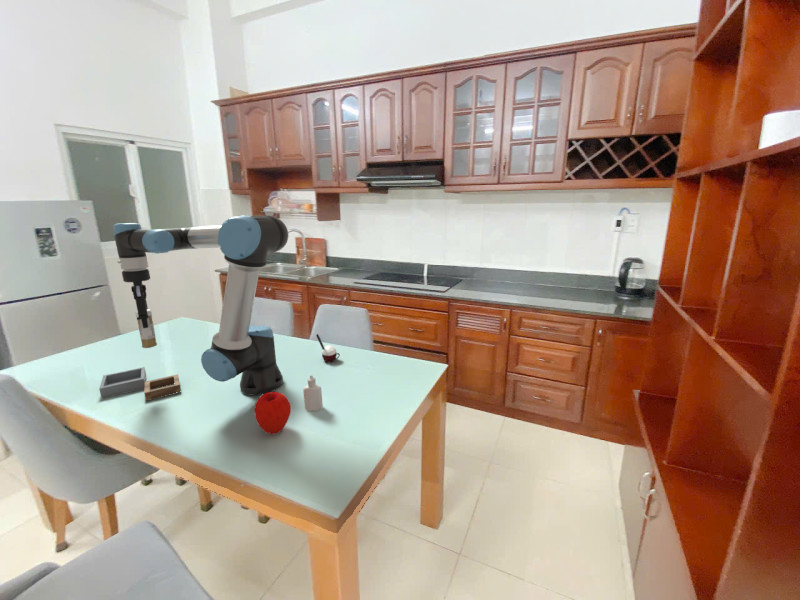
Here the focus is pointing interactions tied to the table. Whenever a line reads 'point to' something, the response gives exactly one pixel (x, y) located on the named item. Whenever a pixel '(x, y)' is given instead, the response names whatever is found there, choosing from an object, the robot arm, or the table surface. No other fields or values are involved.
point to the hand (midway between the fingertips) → (147, 333)
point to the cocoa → (328, 352)
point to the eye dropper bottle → (312, 395)
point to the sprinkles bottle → (149, 340)
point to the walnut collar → (163, 390)
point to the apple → (272, 412)
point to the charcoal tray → (122, 382)
